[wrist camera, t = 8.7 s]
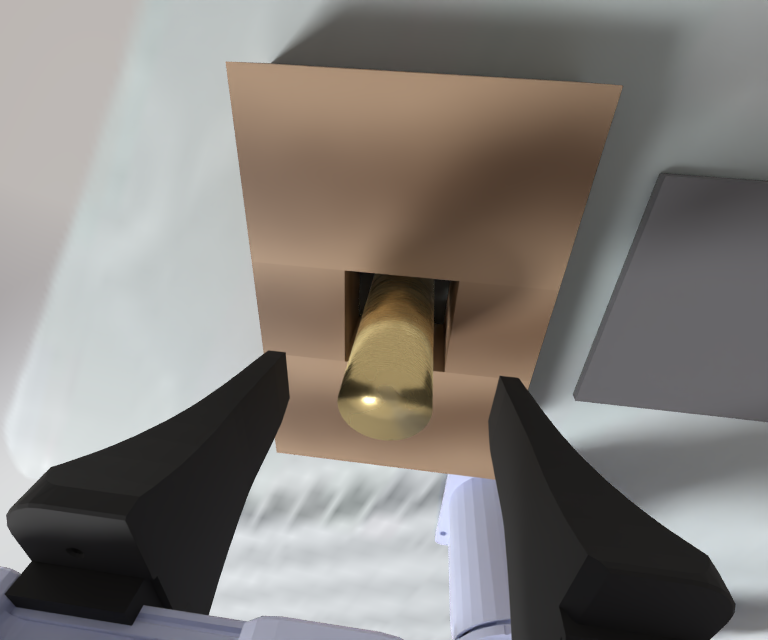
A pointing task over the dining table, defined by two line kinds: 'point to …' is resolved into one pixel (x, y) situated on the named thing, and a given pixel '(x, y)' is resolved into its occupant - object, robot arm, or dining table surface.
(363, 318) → the brass pin
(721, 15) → the dining table surface
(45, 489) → the robot arm
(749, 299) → the rubber mat
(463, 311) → the walnut block
